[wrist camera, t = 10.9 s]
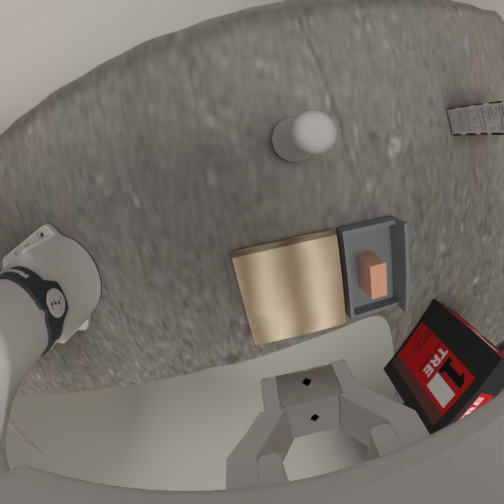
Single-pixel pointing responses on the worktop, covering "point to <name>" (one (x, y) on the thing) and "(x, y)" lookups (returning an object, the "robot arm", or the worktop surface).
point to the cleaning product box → (445, 368)
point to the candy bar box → (477, 119)
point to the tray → (384, 246)
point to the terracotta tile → (372, 274)
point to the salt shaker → (304, 136)
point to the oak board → (291, 286)
